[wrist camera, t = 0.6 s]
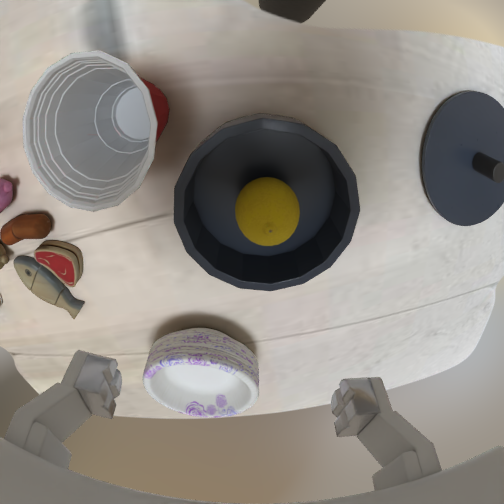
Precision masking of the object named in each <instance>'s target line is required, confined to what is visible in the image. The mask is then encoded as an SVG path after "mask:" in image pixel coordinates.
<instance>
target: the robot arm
mask: <svg viewBox="0 0 504 504" xmlns="http://www.w3.org/2000/svg"><path fill="white" fill-rule="evenodd" d="M117 366H118V363H117V361H116V359H113V358H109V357H105V356H101V355H97V354H92V353H89V352H85V351H81V350H78V351H77V352H76V353H75V354H74V356H73V358H72V360H71V362H70V365H69V367H68V369H67V371H66V373H65V375H64V378H63V380H62V382H61V384H60V383H56V384H55V385H53V386H52V387H50V388H49V389H48V390H46V391H45V392H43V393H42V394H40V395H39V396H37V397H36V398H34V399H33V400H31V401H30V402H28V403H27V404H25V405H24V406H22V407H21V408H19V409H18V410H16V411H15V414H14V416H13V418H12V420H11V423H10V425H9V428H8V430H7V433H6V435H5V438H4V439H3V438H1V437H0V504H240V503H219V502H207V501H197V500H188V499H181V498H175V497H168V496H163V495H157V494H152V493H148V492H142V491H138V490H134V489H130V488H125V487H122V486H118V485H115V484H111V483H108V482H104V481H101V480H98V479H94V478H91V477H89V476H86V475H82V474H80V473H77V472H74V471H72V470H69V469H68V467H69V463H70V459H71V456H72V455H71V453H70V451H69V450H68V449H67V448H66V447H65V446H64V445H63V444H62V442H64V441H65V440H66V439H67V438H68V437H69V436H70V435H71V434H72V433H73V432H74V431H75V430H76V429H78V428H79V427H80V426H81V425H82V424H83V423H84V422H85V421H86V420H87V419H88V418H90V417H91V416H92V414H94V415H97V416H101V417H106V418H110V419H112V418H113V414H114V411H115V407H116V403H115V400H114V398H116V397H117V396H119V394H120V391H121V385H122V376H121V373H120V371H119V370H118V369H117ZM339 386H340V388H339V389H337V390H335V392H334V394H333V395H332V400H331V408H332V413H333V414H334V415H335V416H336V417H337V419H336V420H335V422H334V424H335V429H336V433H337V437H344V436H356V435H358V436H357V437H358V439H359V440H360V441H361V442H362V443H363V445H364V446H365V447H366V448H367V449H368V451H369V452H370V453H371V454H372V455H373V457H374V458H375V459H376V460H377V461H378V462H379V464H380V465H381V466H382V467H383V468H382V469H381V470H379V471H378V472H376V473H375V474H374V475H373V476H372V478H373V484H374V489H375V491H372V492H367V493H362V494H357V495H352V496H346V497H340V498H333V499H325V500H318V501H307V502H296V503H275V504H504V447H502V446H497V447H494V448H492V449H490V450H488V451H486V452H484V453H482V454H480V455H478V456H476V457H474V458H471V459H469V460H467V461H465V462H462V463H460V464H457V465H455V466H453V467H450V468H448V469H445V470H441V467H440V463H439V460H438V457H437V454H436V451H435V448H434V445H433V443H432V442H430V441H429V440H428V439H427V438H426V437H425V436H424V435H422V434H421V433H420V432H419V431H418V430H416V428H414V427H413V426H412V425H411V424H410V423H409V422H408V421H407V420H405V419H404V418H403V417H402V416H401V415H400V414H399V413H397V412H396V411H393V410H392V407H391V404H390V402H389V399H388V395H387V393H386V390H385V387H384V384H383V381H382V379H381V378H380V377H371V378H367V377H366V378H350V379H343V380H341V382H340V384H339Z"/></svg>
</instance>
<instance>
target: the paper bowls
mask: <svg viewBox="0 0 504 504" xmlns="http://www.w3.org/2000/svg"><path fill="white" fill-rule="evenodd" d="M143 384H144V386H145V389H146V390H147V392H148V393H149V394H150V396H151V397H152V398H154V399H155V400H156V401H157V402H159V403H160V404H162V405H164V406H166V407H167V408H170V409H172V410H174V411H177V412H180V413H183V414H187V415H191V416H198V417H226V416H232V415H235V414H239V413H241V412H243V411H245V410H247V409H249V408H250V407H252V406H253V405H254V403H255V402H256V401H257V399H258V396H259V369H258V361H257V359H256V357H255V355H254V354H253V353H252V352H251V351H250V350H249V349H248V348H247V347H246V346H245V345H244V344H242V343H240V342H238V341H236V340H234V339H232V338H231V337H229V336H228V335H226V334H224V333H222V332H220V331H217V330H213V329H208V328H190V329H186V330H182V331H176V332H173V333H169V334H167V335H164V336H163V337H161V338H160V339H158V340H157V341H155V342H154V344H153V345H152V347H151V349H150V353H149V356H148V359H147V363H146V366H145V369H144V373H143Z"/></svg>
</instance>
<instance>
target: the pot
mask: <svg viewBox="0 0 504 504" xmlns="http://www.w3.org/2000/svg"><path fill="white" fill-rule="evenodd" d="M262 177H271V178H276V179H279V180H281V181H283V182H284V183H286V184H287V185H288V186H289V187H290V188H291V189H292V190H293V192H294V193H295V195H296V197H297V200H298V202H299V209H300V216H299V222H298V225H297V227H296V229H295V231H294V233H293V234H292V235H291V236H290V238H288V239H287V240H286V241H284V242H282V243H280V244H278V245H273V246H262V245H258V244H256V243H254V242H252V241H250V240H249V239H248V238H247V237H246V236H245V235H244V234H243V233H242V231H241V230H240V228H239V226H238V223H237V220H236V216H235V205H236V200H237V197H238V195H239V193H240V191H241V190H242V189H243V188H244V187H245V186H246V184H248V183H249V182H251V181H252V180H255V179H258V178H262ZM359 212H360V205H359V197H358V189H357V182H356V177H355V174H354V172H353V171H352V169H351V168H350V166H349V164H348V163H347V161H346V159H345V158H344V156H343V155H342V153H341V152H340V150H339V149H338V147H337V146H336V145H335V144H334V143H332V142H331V141H329V140H328V139H326V138H325V137H323V136H322V135H320V134H319V133H317V132H316V131H314V130H312V129H311V128H309V127H308V126H306V125H305V124H303V123H301V122H300V121H298V120H296V119H294V118H290V117H284V116H279V115H271V114H263V113H258V114H255V115H251V116H246V117H242V118H239V119H236V120H232V121H229V122H226V123H225V124H223V125H222V126H221V127H220V128H218V129H217V130H216V131H214V132H213V133H212V134H211V135H210V136H208V137H207V138H206V139H205V140H203V141H202V142H201V143H200V144H199V145H198V146H197V148H196V149H195V150H194V151H193V152H192V153H191V155H190V156H189V158H188V160H187V162H186V164H185V166H184V168H183V171H182V173H181V175H180V177H179V179H178V181H177V183H176V185H175V188H174V224H175V226H176V228H177V231H178V233H179V235H180V238H181V240H182V242H183V245H184V247H185V249H186V252H187V253H188V254H189V255H190V256H191V257H192V258H193V259H194V260H195V261H196V262H197V263H198V264H199V265H200V266H201V267H202V268H203V269H204V270H205V271H206V272H207V273H208V274H209V275H211V276H213V277H216V278H218V279H220V280H222V281H224V282H227V283H229V284H231V285H233V286H236V287H238V288H242V289H253V290H264V291H274V290H278V289H283V288H287V287H292V286H296V285H300V284H304V283H305V282H307V281H309V280H310V279H312V278H314V277H315V276H317V275H319V274H320V273H322V272H323V271H325V270H327V269H328V268H330V267H331V266H332V265H333V263H334V262H335V261H336V260H337V258H338V257H339V256H340V255H341V253H342V252H343V251H344V250H345V248H346V247H347V246H348V245H349V243H350V241H351V239H352V236H353V233H354V229H355V226H356V223H357V219H358V216H359Z"/></svg>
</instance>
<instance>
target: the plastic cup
mask: <svg viewBox="0 0 504 504" xmlns="http://www.w3.org/2000/svg"><path fill="white" fill-rule="evenodd" d="M168 115H169V107H168V103H167V98H166V97H165V96H164V94H163V93H162V92H161V91H160V89H158V88H157V87H155V85H154V84H152V83H150V82H148V81H146V80H144V79H142V78H140V77H139V75H137V74H136V72H135V71H134V70H133V69H132V67H131V66H130V65H129V64H128V63H126V62H124V61H122V60H120V59H117V58H115V57H113V56H111V55H109V54H106V53H104V52H102V51H88V52H77V53H71V54H69V55H68V56H66V57H64V58H62V59H61V60H59V61H58V62H56V63H54V64H53V65H51V66H50V67H48V68H47V69H46V71H45V72H44V73H43V75H42V76H41V77H40V79H39V80H38V81H37V83H36V84H35V86H34V87H33V89H32V90H31V92H30V95H29V98H28V102H27V105H26V109H25V112H24V116H23V144H24V150H25V153H26V155H27V158H28V161H29V164H30V167H31V170H32V172H33V174H34V175H35V176H36V178H37V179H38V180H39V182H40V183H41V184H42V186H43V187H44V188H45V190H46V191H47V192H48V193H49V194H50V195H52V196H53V197H55V198H56V199H58V200H59V201H61V202H62V203H64V204H66V205H67V206H69V207H71V208H77V209H82V210H88V211H93V212H94V211H98V210H102V209H106V208H110V207H114V206H118V205H119V204H120V203H122V202H123V201H124V200H125V199H126V198H127V197H129V196H130V195H131V194H132V193H133V192H135V191H136V190H137V189H138V188H139V187H140V185H141V183H142V181H143V179H144V177H145V175H146V173H147V171H148V169H149V167H150V165H151V163H152V161H153V159H154V155H155V144H156V142H157V140H158V138H159V137H160V135H161V133H162V131H163V130H164V128H165V126H166V124H167V122H168Z"/></svg>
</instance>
